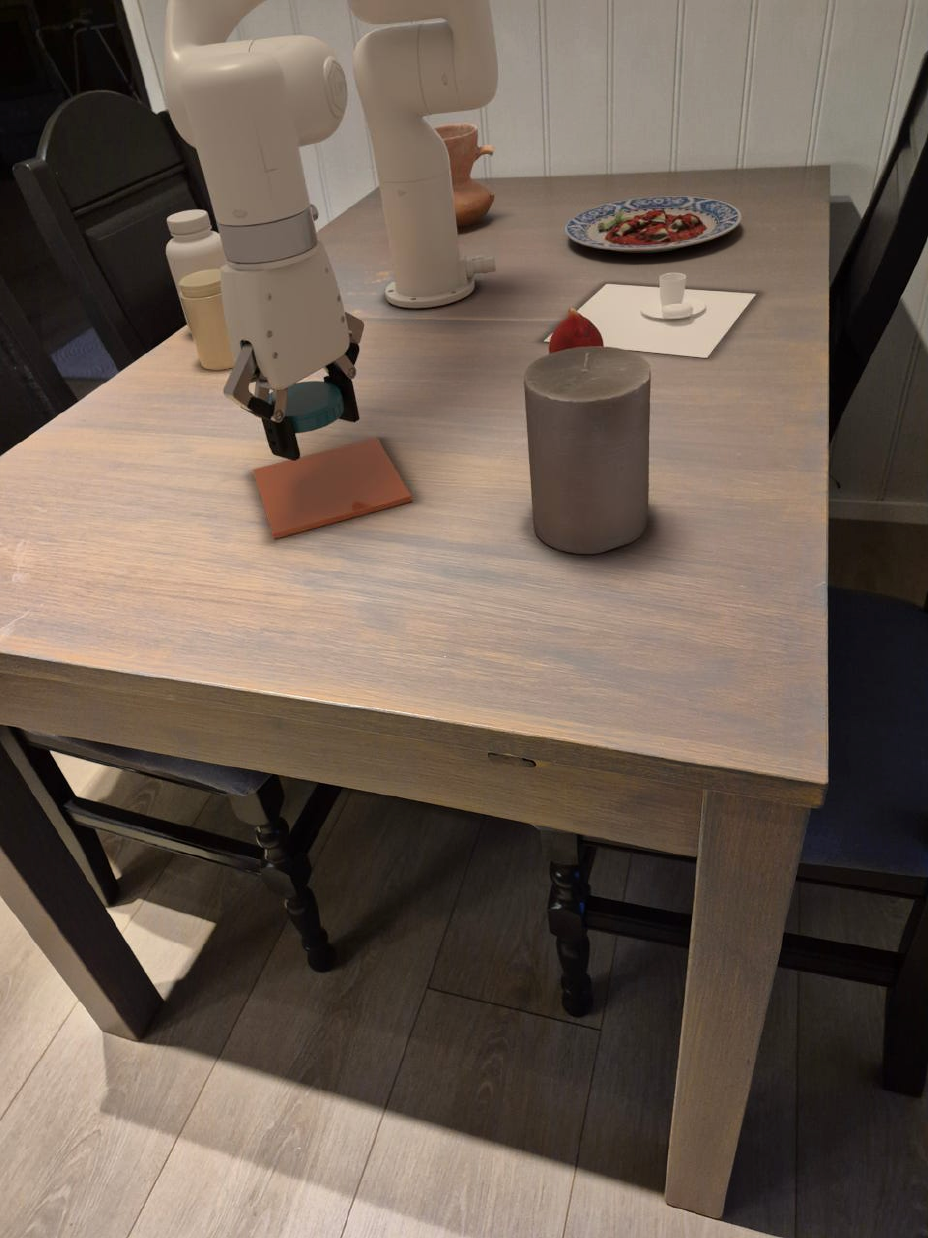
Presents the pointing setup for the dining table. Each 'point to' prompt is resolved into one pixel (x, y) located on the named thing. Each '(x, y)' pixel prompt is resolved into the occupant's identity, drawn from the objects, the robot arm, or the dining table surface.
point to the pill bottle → (192, 246)
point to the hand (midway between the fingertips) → (316, 436)
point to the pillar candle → (588, 447)
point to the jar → (207, 318)
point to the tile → (329, 487)
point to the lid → (312, 405)
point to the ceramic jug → (466, 172)
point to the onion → (575, 333)
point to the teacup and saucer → (663, 316)
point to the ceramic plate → (653, 223)
